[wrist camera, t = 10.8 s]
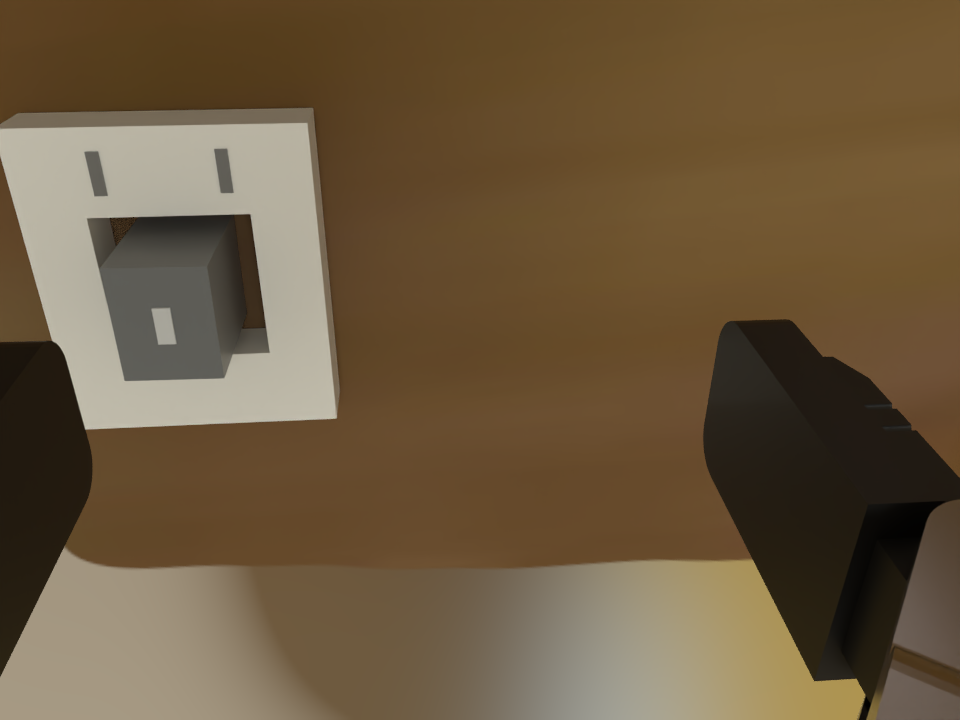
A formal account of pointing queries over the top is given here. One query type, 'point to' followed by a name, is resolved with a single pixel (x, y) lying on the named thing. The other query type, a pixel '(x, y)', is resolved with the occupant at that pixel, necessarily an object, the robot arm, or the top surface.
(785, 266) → the top surface
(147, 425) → the outlet plate
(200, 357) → the block
